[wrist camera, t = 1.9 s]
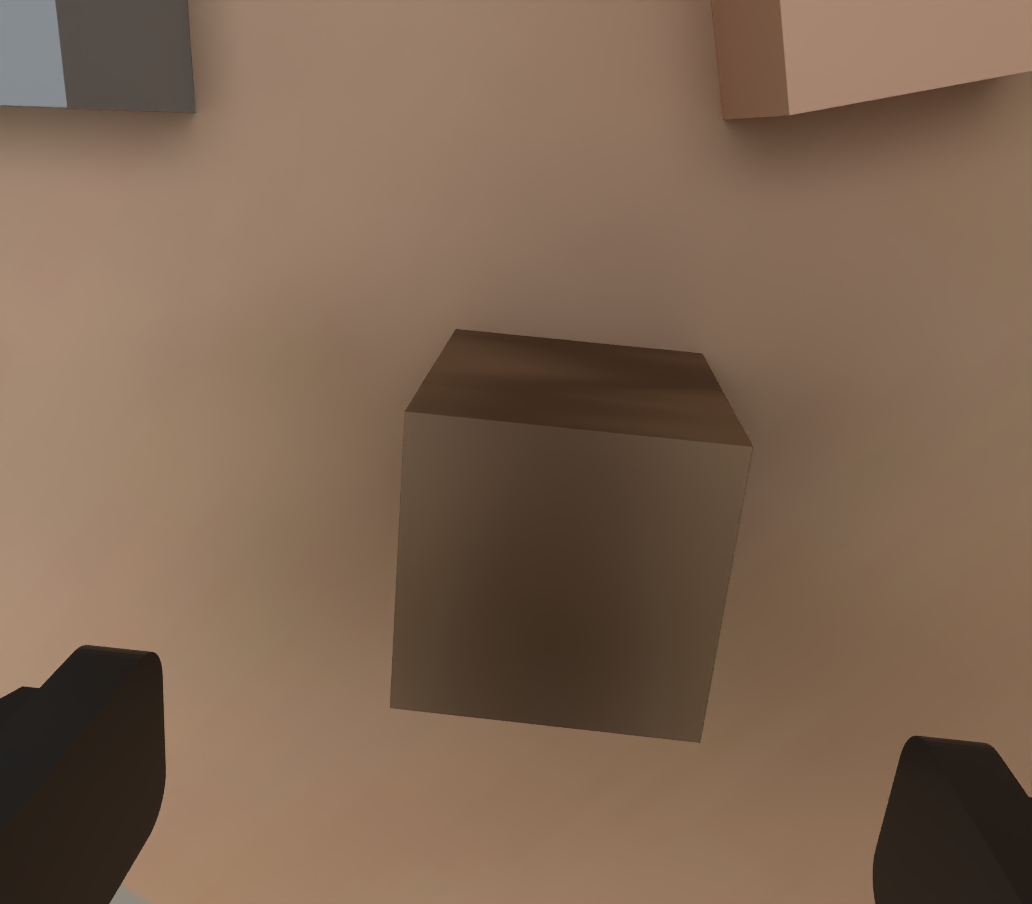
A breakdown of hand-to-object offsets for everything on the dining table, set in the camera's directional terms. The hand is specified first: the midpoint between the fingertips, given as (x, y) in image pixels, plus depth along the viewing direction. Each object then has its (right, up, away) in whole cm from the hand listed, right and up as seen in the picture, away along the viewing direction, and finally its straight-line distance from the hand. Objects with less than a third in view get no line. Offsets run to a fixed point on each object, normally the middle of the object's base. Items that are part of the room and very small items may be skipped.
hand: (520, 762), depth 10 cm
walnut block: (+1, +3, +10) cm, 10 cm away
